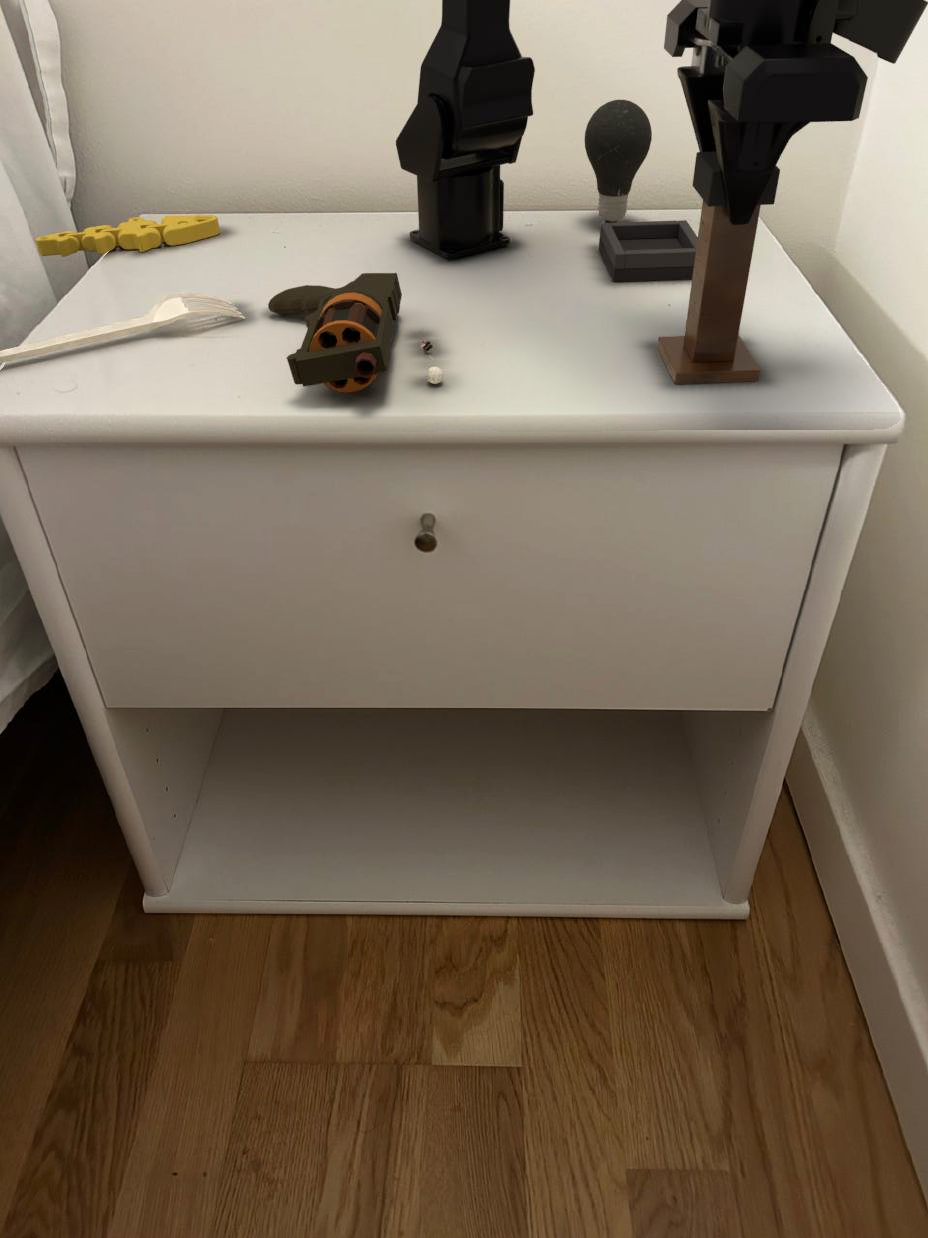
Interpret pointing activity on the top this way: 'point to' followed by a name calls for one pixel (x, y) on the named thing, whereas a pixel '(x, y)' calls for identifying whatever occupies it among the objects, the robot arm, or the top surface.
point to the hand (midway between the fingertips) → (729, 211)
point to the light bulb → (616, 153)
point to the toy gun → (343, 330)
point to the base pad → (648, 250)
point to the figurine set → (433, 373)
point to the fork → (131, 323)
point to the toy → (131, 235)
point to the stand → (715, 305)
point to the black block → (711, 183)
